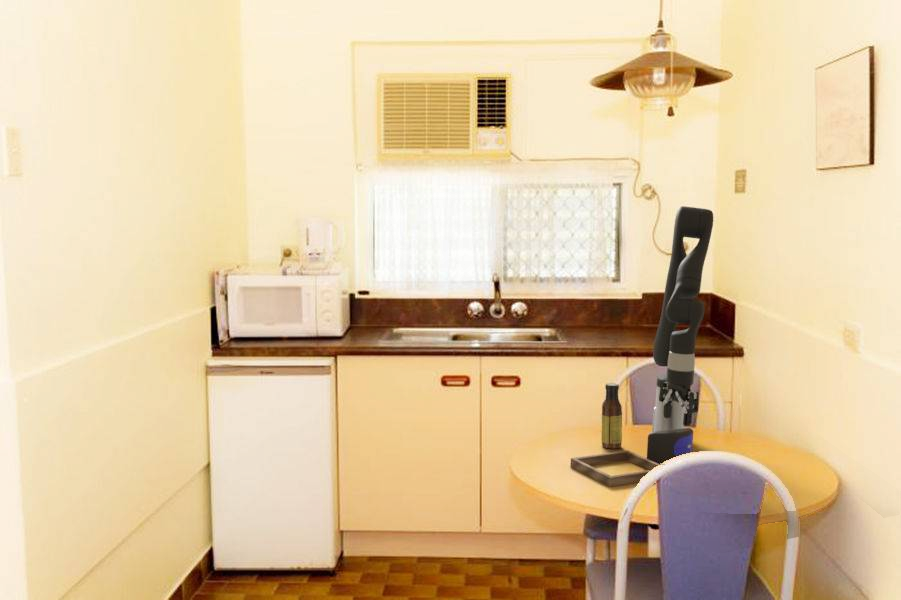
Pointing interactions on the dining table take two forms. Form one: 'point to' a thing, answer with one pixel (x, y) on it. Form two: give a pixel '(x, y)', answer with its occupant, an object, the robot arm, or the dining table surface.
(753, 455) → the dining table surface
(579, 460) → the walnut tray
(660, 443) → the black two-tone rounded block
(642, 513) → the dining table surface
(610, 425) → the sauce bottle
